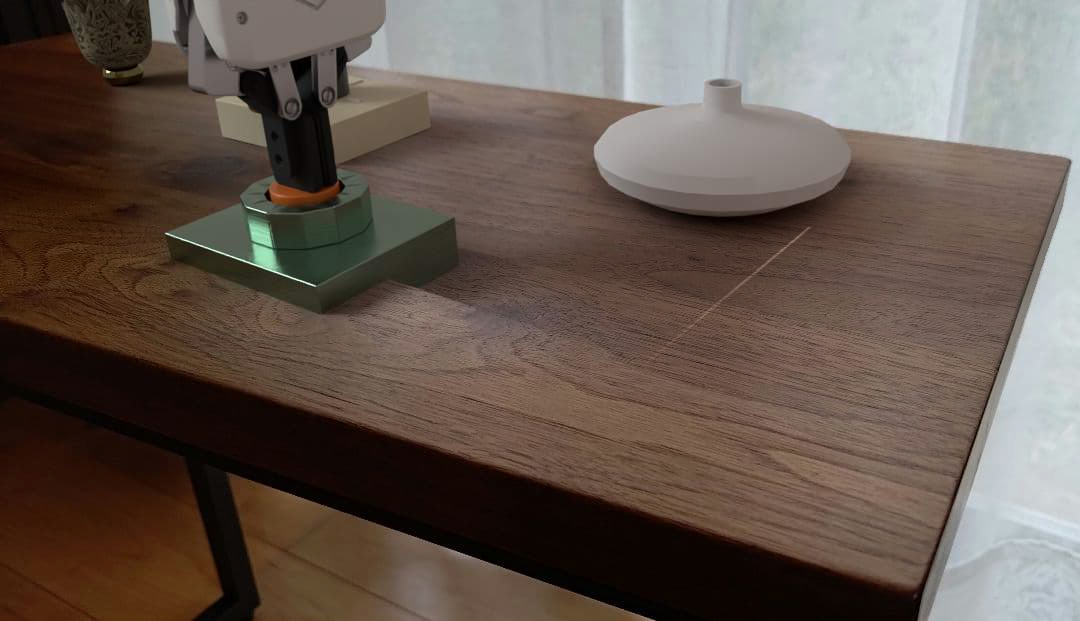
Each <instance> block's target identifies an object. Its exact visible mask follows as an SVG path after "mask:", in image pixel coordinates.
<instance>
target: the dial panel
mask: <svg viewBox="0 0 1080 621" xmlns="http://www.w3.org/2000/svg"><path fill="white" fill-rule="evenodd" d="M348 81H349V88H350V92H349V94H347V95H346V96H344V97H341V98H338V99H337V100H336V103H335V104H334V106H332V107H331V108H328V114H329V120H330V127H331V134H332V141H333V148H334V157H335V163H336V166H337V165H340V164H343V163H345V162H348V161H351V160H353V159H356V158H357V157H361V156H363V155H365V154H368V153H370V152H373V151H375V150H378V149H380V148H382V147H386V146H388V145H390V144H393V143H396V142H397V141H398V142H399V141H400V140H402V139H406V138H408V137H411V136H413V135H416V134H417V133H421V132H424V131H425V130H428V129H430V128H431V127H432V126H431V124H432V123H431V114H430V105H429V104H430V103H429V95H428V94H429V93H428V90H427V89H422V88H418V87H411V86H406V85H401V84H395V83H389V82H385V81H378V80H373V79H367V78H362V77H356V76H351V75H348ZM215 107H216V111H217V116H218V121H219V126H220V132H221V136H222V137H223V138H227V139H231V140H235V141H239V142H243V143H247V144H251V145H254V146H258V147H262V148H265V149H267V144H266V138H265V133H264V127H263V122H262V116H261V114H259V113H254V112H252V111H251V110H250V109H249V107H248V105H247V104H246V103H245V102H243V101H242V100H241V99H239V98H238V97H237V96H220V97H218V98H215Z"/></svg>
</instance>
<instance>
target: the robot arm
mask: <svg viewBox="0 0 1080 621" xmlns="http://www.w3.org/2000/svg"><path fill="white" fill-rule="evenodd" d="M386 2H387V1H386V0H164V3H165V8H166V14H167V17H168V21H169V25H170V29H171V33H172V36H173V39H174V42H175V45H176V46H177V49H178V50H179V52H180V53H181V55H183V56H185V57H187V59H188V60H187V83H188V87H189V90H190V91H192V92H193V93H195V94H200V95H204V96H210V97H225V96H237V97H238V98H239V99H241V100H242V101H243V102H245V103H246V104H247V105H248V107H249V109H250V110H251V111H252V112H254V113H259V114H261V116H262V122H263V127H264V133H265V138H266V144H267V148H266V149H267V155H268V160H269V165H270V169H271V171H272V172H273V175H274V178H275V180H276V182H277V183H278V184H280V185H283V186H287V187H291V188H294V189H298V190H301V191H305V192H309V193H314V192H317V191H319V190H321V189H322V186H326V187H329V186H331V185H333V184H336V183H337V181H338V177H337V170H336V169H337V165H336V163H335V157H334V148H333V141H332V134H331V127H330V120H329V114H328V108H331V107H332V106H334V104H335V103H336V100H337V82H338V80H339V78H340V76H341V74H342V72H343V70H344V68H345V66H347V63H351V62H353V60H355V59H356V58H358V57H360V56H361V55H363V54H364V53H365V52H367V51H369V49H370V48H371V47H372V42H373V37H372V36H374V35H375V34H376V33H378V32H379V31H380V29H381V28H383V26H384V25H385V23H386V19H387V18H386V17H387V3H386ZM227 61H229V62H230V63H231V64H232V65H233V67H230V66H229V64H228V62H227Z"/></svg>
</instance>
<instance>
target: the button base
mask: <svg viewBox="0 0 1080 621" xmlns="http://www.w3.org/2000/svg"><path fill="white" fill-rule="evenodd" d="M336 170H337V177H338V181H339V188H340V194H338V195H335V196H333V197H331V198H328V199H326V200H324V201H319V202H314V203H308V204H303V205H281V204H278V203H274V202H271V197H270V191H269V189H270V186H271V185H272V184H273V183H274V182H276V180H275V178H274V174H273V175H270V176H269V177H265V178H263V179H260V180H258V181H256V182H253V183H252V184H250V185H249V187H247V188H246V189H245V190H244V191H243V192H242V193H241V194H240V203H237V204H234V205H231V206H229V207H227V208H224V209H222V210H219V211H216V212H214V213H212V214H209V215H206V216H204V217H202V218H199V219H196V220H194V221H191V222H189V223H186V224H184V225H182V226H180V227H176V228H174V229H172V230H169V231H167V232H165V233H164V235H165V239H166V244H167V249H168V252H169V256H170V259H171V260H173V261H176V262H178V263H181V264H184V265H186V266H189V267H191V268H194V269H197V270H200V271H202V272H205V273H208V274H210V275H212V276H216V277H218V278H220V279H222V280H223V279H224V280H227V281H229V282H232V283H234V284H237V285H240V286H242V287H245V288H248V289H250V290H252V291H255V292H259V293H261V294H264V295H266V296H269V297H272V298H273V299H274V298H275V299H277V300H280V301H283V302H285V303H287V304H291V305H294V306H295V307H298V308H300V309H304V310H306V311H308V312H309V311H310V312H312V313H315V314H317V315H323V314H325V313H327V312H329V311H331V310H333V309H335V308H336V307H338V306H340V305H342V304H344V303H346V302H348V301H349V300H352V299H353V298H355V297H357V296H359V295H361V294H362V293H364V292H367V291H368V290H370V289H372V288H373V287H376V286H377V285H379V284H382V283H383V282H384V281H387V280H390V281H393V282H396V283H400V284H401V285H406V286H409V287H412V288H414V289H419V288H421V287H423V286H425V285H427V284H429V283H430V282H433V281H434V280H436V279H438V278H439V277H441V276H443V275H444V274H446V273H448V272H451V271H452V270H454V269H455V268H457V267H459V266H460V260H459V248H458V236H457V227H456V226H457V225H456V216H455V215H451V214H447V213H444V212H440V211H437V210H432V209H429V208H425V207H421V206H418V205H414V204H410V203H407V202H402V201H399V200H395V199H391V198H387V197H383V196H381V195H377V194H372V193H371V192H370V185H369V183H368V181H367V180H366V179H365V178H364V177H363V175H362V174H361V173H358V172H353V171H350V170H347V169H343V168H336ZM453 268H454V269H453Z"/></svg>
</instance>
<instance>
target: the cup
mask: <svg viewBox="0 0 1080 621" xmlns="http://www.w3.org/2000/svg"><path fill="white" fill-rule="evenodd" d="M61 6H62V9H63V10H64V13H65V16H66V19H67V20H68V24H69V26H70V29H71V32H72V35H73V36H74V39H75V42H76V44H77V46H78V48H79V50H80V52H81V54H82V55H83V57H84V58H85V59H86V60H87V61H88V62H89V63H90V64H92V65H93V66H95V67H97V68H100V69H102V73H101V74H102V75H101V76H102V79H103V80H104V81H105V83H107V84H109V85H112V86H127V85H133V84H135V83H136V84H137V83H138V82H140V81H141V80H142V79H143V78H144V74H145V70H144V68H143V66H142V65H141V63H143V62H144V61H146V60H147V58H148V57H149V55H150V54H151V51H152V47H153V29H152V18H151V8H150V0H63V1H61Z"/></svg>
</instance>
